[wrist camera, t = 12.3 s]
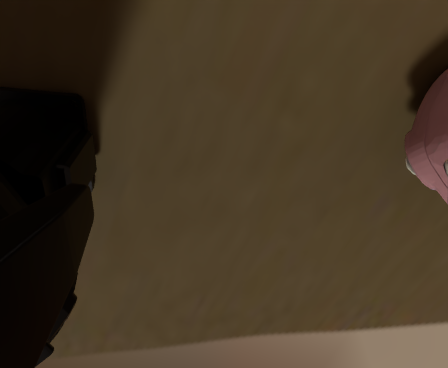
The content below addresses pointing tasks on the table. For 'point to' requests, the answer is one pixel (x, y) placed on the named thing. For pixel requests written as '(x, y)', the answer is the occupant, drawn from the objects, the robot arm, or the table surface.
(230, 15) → the table surface
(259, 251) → the table surface
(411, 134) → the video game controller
